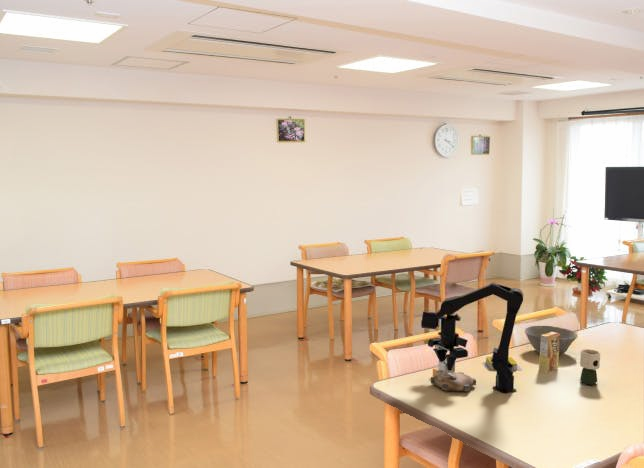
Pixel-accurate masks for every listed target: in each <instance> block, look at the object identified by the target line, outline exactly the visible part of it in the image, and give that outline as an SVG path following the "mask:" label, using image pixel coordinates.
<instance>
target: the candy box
mask: <svg viewBox="0 0 644 468" xmlns="http://www.w3.org/2000/svg"><path fill="white" fill-rule="evenodd" d="M559 345H560V334H559V333H555V332H550V333H546V334H543V335H541V343H540V353H539V358H538V361H539V362H538V370H539V371H542V372H545V373H548V372H552V371H553V370H556V369H559Z"/></svg>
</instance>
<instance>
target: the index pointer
mask: <svg viewBox="0 0 644 468" xmlns="http://www.w3.org/2000/svg"><path fill="white" fill-rule="evenodd" d="M438 372H439V371H438V367H433V368H432V377H434V375H436V374H438Z"/></svg>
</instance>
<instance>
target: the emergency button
mask: <svg viewBox="0 0 644 468" xmlns="http://www.w3.org/2000/svg"><path fill="white" fill-rule="evenodd" d="M491 358H492V356H486V359H485V361H482V365H483V366H484V368H485V367H486V368H485V369H486V370H489V369H491V371H492V370H493V371H496V370H495V369H494V368H493V366H492V362H491ZM508 361H509V362H510V363H511V364H512V365H513V366H514V369H513V371H522V370H523V369H522V368H521V367H520V366H519V364H518V363H517V362H516V361H515V359H514V358H513V357H510V356H509V358H508Z"/></svg>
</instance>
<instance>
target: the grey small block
mask: <svg viewBox="0 0 644 468" xmlns="http://www.w3.org/2000/svg"><path fill="white" fill-rule="evenodd" d="M437 368H438V371H439V370H443V371H444V374H447V373H453V372H456V362H455V363H454V365H453V368H452V370H451V371H449V370H448V366H447V361H446V360H442V361H439V360H438V367H437Z"/></svg>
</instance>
